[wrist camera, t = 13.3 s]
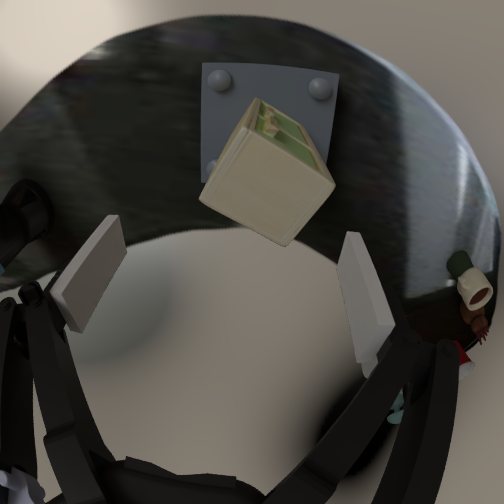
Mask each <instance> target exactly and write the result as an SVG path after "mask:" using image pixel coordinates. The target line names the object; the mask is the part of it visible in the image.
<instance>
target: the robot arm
mask: <svg viewBox="0 0 504 504" xmlns="http://www.w3.org/2000/svg"><path fill="white" fill-rule="evenodd" d="M53 222H54V213H53V208H52V205H51V202H50V200H49V198H48V196H47V194H46V193H45V192H44V190H43V189H42V188H41V187H40V186H39V185H38V184H37V183H35V182H34V181H32V180H29V179H22V180H20V181H18V182H17V183H16V184H14V185H13V186H12V187H11V189H10V190H9V192H8V193H7V195H6V197H5V198H4V200H3V201H2V203H1V204H0V275H1V274H3V273H4V271H5V269H6V268H7V267H8V266H9V264H10V263H11V262H12V261H13V260H14V258H15V257H16V256H17V255H18V254H19V253H20V251H21V250H22V249H23V248H24V247H25V246H26V245H27V244H28V243H31V242H33V241H35V240H37V239H39V238H41V237H43V236H44V235H46V234H47V233H48V231H49V230H50V229H51V228H52V226H53ZM126 254H127V250H126V246H125V242H124V237H123V233H122V228H121V224H120V219H119V215H108V216H107V217H106V218H105V219H104V220H103V222H102V223H101V224H100V225H99V226H98V228H97V229H96V230H95V231H94V232H93V234H92V235H91V236H90V237H89V239H88V240H87V241H86V242H85V244H84V245H83V246H82V247H81V249H80V250H79V251H78V253H77V254H76V255H75V256H74V258H69V259H68V260H67V261H66V262H64V263H63V264H62V266H61V267H60V268H59V270H58V271H57V272H56V274H55V276H54V277H53V278H52V279H51V281H50V282H49V283H48V285H47V286H46V288H45V289H44V291H43V290H42V289H41V286H40V284H39V283H38V282H37V281H29V282H27V283H25V284H24V285H23V286H22V287H21V288H20V290H19V292H18V296H19V297H20V299H21V301H22V304H17V303H16V301H15V300H14V298H12V297H7V298H5V299H3V300H2V301H1V302H0V504H325V503H326V502H327V501H328V499H329V498H330V497H331V496H332V495H333V493H334V492H335V490H336V487H337V485H338V483H339V482H340V480H341V479H342V478H343V477H344V475H345V474H346V473H347V472H348V470H349V469H350V468H351V466H352V465H353V464H354V462H355V461H356V460H357V458H358V457H359V455H360V454H361V453H362V451H363V450H364V449H365V447H366V446H367V444H368V443H369V441H370V440H371V439H372V437H373V435H374V434H375V432H376V431H377V429H378V428H379V426H380V425H381V423H382V422H383V420H384V418H385V417H386V415H387V413H388V412H389V410H390V408H391V407H392V405H393V403H394V402H395V400H396V398H397V396H398V395H399V393H400V391H401V389H402V387H403V385H404V383H405V382H410V386H409V391H408V396H407V399H406V404H405V408H404V411H403V415H402V419H401V423H400V427H399V430H398V433H397V436H396V440H395V443H394V446H393V449H392V452H391V455H390V458H389V461H388V463H387V466H386V469H385V472H384V474H383V477H382V479H381V482H380V484H379V487H378V489H377V492H376V494H375V496H374V499H373V501H372V503H371V504H434V503H435V500H436V497H437V494H438V491H439V488H440V484H441V481H442V477H443V473H444V470H445V466H446V461H447V457H448V452H449V448H450V442H451V437H452V431H453V426H454V418H455V412H456V403H457V394H458V383H459V366H460V352H459V348H458V347H457V345H456V344H455V343H454V342H453V341H451V340H449V339H442V340H440V341H439V342H438V344H437V345H435V344H431V343H428V342H424V341H422V338H421V337H420V335H419V334H418V333H417V332H415V331H414V330H411V329H410V326H409V323H408V321H407V318H406V315H405V313H404V310H403V307H401V306H402V305H401V302H400V300H399V297H398V295H397V292H396V291H395V289H394V288H393V287H392V286H391V285H390V284H386V283H380V281H379V278H378V276H377V273H376V271H375V268H374V266H373V263H372V261H371V258H370V256H369V253H368V251H367V249H366V246H365V244H364V242H363V239H362V237H361V235H360V233H358V232H348V231H347V233H346V237H345V241H344V244H343V248H342V251H341V255H340V258H339V262H338V265H337V269H336V270H337V274H338V278H339V282H340V287H341V291H342V294H343V299H344V304H345V308H346V312H347V317H348V322H349V326H350V331H351V336H352V340H353V345H354V351H355V356H356V361H357V363H369V362H372V361H373V360H374V358H375V357H376V356H377V360H378V364H377V365H376V366H375V368H374V369H373V371H372V372H371V373H370V375H369V377H368V378H367V380H366V381H365V383H364V384H363V386H362V387H361V389H360V390H359V391H358V393H357V394H356V396H355V397H354V398H353V400H352V401H351V402H350V404H349V405H348V407H347V408H346V409H345V410H344V412H343V413H342V414H341V415H340V417H339V418H338V419H337V421H336V422H335V423H334V424H333V425H332V427H331V428H330V429H329V430H328V432H327V433H326V434H325V435H324V436H323V438H322V439H321V440H320V441H319V442H318V443H317V444H316V446H315V447H314V448H313V449H312V450H311V451H310V452H309V454H308V455H307V456H306V457H305V458H304V459H303V460H302V461H301V462H300V463H299V464H298V465H297V466H296V468H294V469H293V470H292V472H290V473H289V474H288V475H287V477H285V478H284V479H283V480H282V481H281V482H280V483H279V484H278V485H277V486H276V487H275V488H274V489H273V490H271V491H270V492H269V493H268V494H267V495H266V496H264V494H262V493H261V492H260V491H259V490H258V489H256V488H255V487H253V486H251V485H249V484H247V483H245V482H242V481H239V480H236V476H226V475H217V474H208V473H206V474H193V475H176V474H174V473H171V472H169V471H167V470H165V469H163V468H161V467H159V466H157V465H155V464H152V463H150V462H146V461H142V460H139V459H135V458H131V457H128V456H126V459H125V460H119V461H116V460H115V458H114V457H113V455H112V453H111V452H110V451H109V450H108V448H107V447H106V446H105V444H104V442H103V440H102V438H101V435H100V433H99V431H98V428H97V426H96V424H95V421H94V419H93V417H92V414H91V411H90V409H89V406H88V404H87V401H86V398H85V396H84V393H83V390H82V387H81V384H80V381H79V378H78V375H77V372H76V368H75V365H74V362H73V358H72V355H71V351H70V347H69V344H68V340H67V336H66V332H65V330H64V326H65V324H66V323H67V325H68V327H69V329H70V330H71V331H74V332H78V333H83V331H84V329H85V327H86V325H87V323H88V321H89V319H90V317H91V315H92V313H93V311H94V310H95V307H96V306H97V304H98V302H99V300H100V298H101V297H102V295H103V293H104V291H105V289H106V288H107V286H108V284H109V282H110V281H111V279H112V277H113V275H114V274H115V272H116V270H117V269H118V267H119V265H120V264H121V262H122V260H123V259H124V257H125V255H126ZM33 378H34V383H35V388H36V393H37V396H38V401H39V406H40V410H41V414H42V417H43V421H44V424H45V428H46V432H47V434H46V435H45V436H44V439H43V441H44V446H45V449H46V452H47V455H48V458H49V460H50V463H51V466H52V468H53V471H54V474H55V476H56V478H57V481H58V483H59V486H60V488H61V490H62V493H61V494H60V495H58V496H56V497H55V498H53V499H52V500H50V501H49V502H47V503H45V502H44V500H43V498H44V497H45V491H44V489H43V488H42V487H41V486H40V484H39V483H38V481H37V458H36V449H35V438H34V423H33Z"/></svg>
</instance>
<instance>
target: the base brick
mask: <svg viewBox="0 0 504 504" xmlns="http://www.w3.org/2000/svg"><path fill="white" fill-rule="evenodd" d="M338 81H339V74H335V73H329V72H323V71H317V70H311V69H304V68H296V67H287V66H277V65H265V64H249V63H202V92H201V182H204V183H207V181H208V179H209V177H210V175H211V173H212V171H213V169H214V167H215V165H216V163H217V161H218V159H219V157H220V155H221V153H222V151H223V149H224V147H225V146H226V144H227V142H228V140H229V138H230V136H231V134H232V133H233V131H234V130H235V128H236V126H237V125H238V123H239V122H240V120H241V119H242V117H243V115H244V114H245V112H246V111H247V109H248V108H249V106H250V105H251V103H252V102H253V100H254V99H255V97H257V98H259V99H261V100H263V101H264V102H266V103H268V104H269V105H271V106H273V107H274V108H276V109H278V110H279V111H281V112H282V113H284V114H286V115H287V116H289V117H290V118H292V119H293V120H295V121H296V122H298V123H300V124H301V125H302V126H304V127H305V129H306V131H307V132H308V134H309V136H310V138H311V140H312V141H313V143H314V145H315V147H316V149H317V151H318V152H319V154H320V156H321V158H322V160H323V162H324V163H325V165H326V163H327V157H328V151H329V145H330V138H331V132H332V125H333V119H334V112H335V104H336V97H337V89H338Z"/></svg>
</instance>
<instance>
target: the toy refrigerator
mask: <svg viewBox="0 0 504 504" xmlns="http://www.w3.org/2000/svg"><path fill="white" fill-rule="evenodd" d="M335 186H336V185H335V183H334V181H333V179H332V177H331V175H330V173H329V171H328V169H327V167H326V165H325V163H324V162H323V160H322V158H321V156H320V154H319V152H318V151H317V149H316V147H315V145H314V143H313V141H312V140H311V138H310V136H309V134H308V132H307V131H306V129H305V127H304V126H302V125H301V124H300V123H298V122H296V121H295V120H293V119H292V118H290V117H289V116H287V115H286V114H284V113H282V112H281V111H279V110H278V109H276V108H274V107H273V106H271V105H269V104H268V103H266V102H264V101H263V100H261V99H259V98H257V97H255V99H254V100H253V102H252V103H251V105H250V106H249V108H248V109H247V111H246V112H245V114H244V115H243V117H242V119H241V120H240V122H239V123H238V125H237V126H236V128H235V130H234V131H233V133H232V134H231V136H230V138H229V140H228V142H227V144H226V146H225V147H224V149H223V151H222V153H221V155H220V157H219V159H218V161H217V163H216V165H215V167H214V169H213V171H212V173H211V175H210V177H209V179H208V181H207V183H206V185H205V187H204V189H203V191H202V193H201V195H200V197H199V200H200V201H201V202H202V203H204V204H205V205H207V206H208V207H210V208H212V209H214V210H215V211H217V212H219V213H221V214H223V215H225V216H227V217H229V218H230V219H232V220H234V221H236V222H238V223H240V224H242V225H244V226H245V227H247V228H249V229H251V230H253V231H255V232H257V233H258V234H260V235H262V236H264V237H266V238H267V239H269V240H271V241H273V242H275V243H277V244H278V245H281V246H284V247H286V246H287V245H288V244H289V243H290V242H291V241H292V240H293V239H294V237H295V236H296V235H297V234H298V233H299V231H300V230H301V229H302V228H303V227H304V226H305V224H306V223H307V222H308V221H309V220H310V218H311V217H312V216H313V215H314V214H315V212H316V211H317V210H318V209H319V208H320V207H321V205H322V204H323V203H324V202H325V201H326V199H327V198H328V197H329V196H330V194H331V193H332V192H333V190H334V188H335Z"/></svg>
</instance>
